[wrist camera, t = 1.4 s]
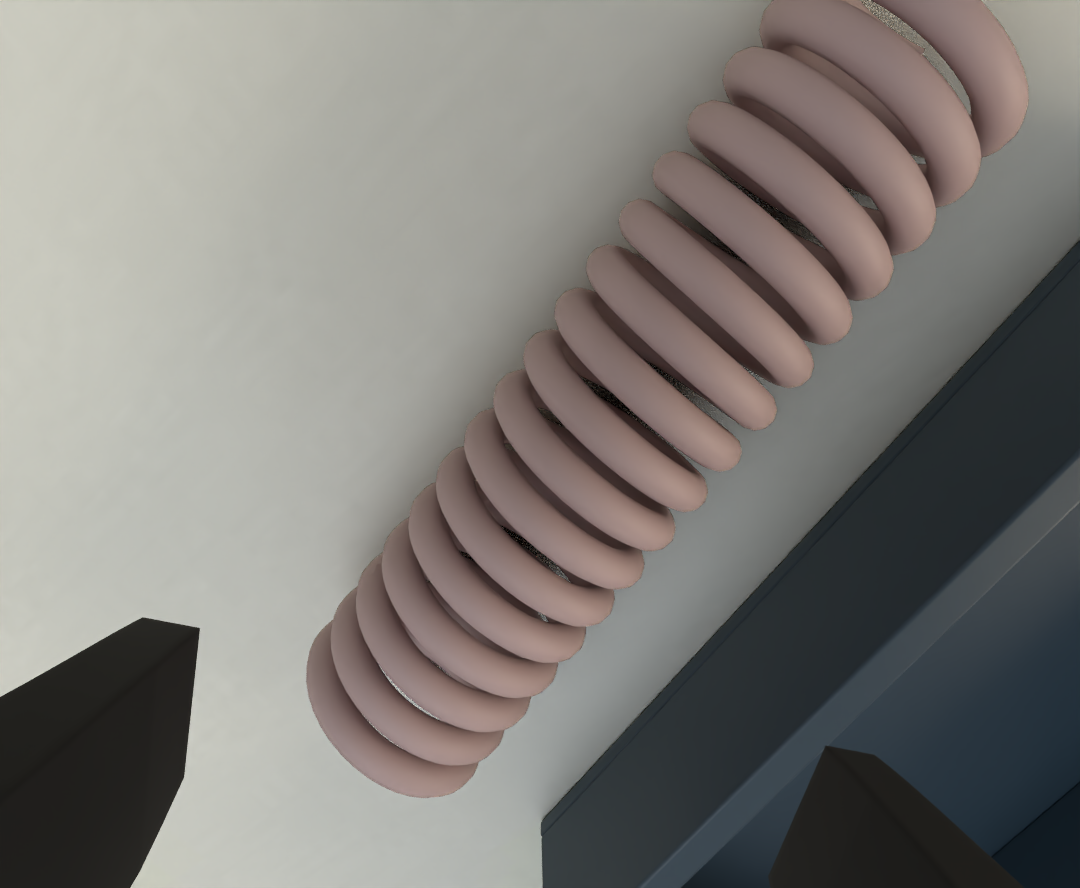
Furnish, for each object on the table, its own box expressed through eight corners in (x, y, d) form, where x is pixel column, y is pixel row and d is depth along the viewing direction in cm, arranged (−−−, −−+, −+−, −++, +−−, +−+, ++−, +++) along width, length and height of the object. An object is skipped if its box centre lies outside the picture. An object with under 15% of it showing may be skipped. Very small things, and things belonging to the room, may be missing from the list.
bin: (1473, 453, 18) (1763, 536, 14) (838, 989, 24) (907, 1166, 19) (1166, 145, 16) (1403, 132, 12) (539, 821, 21) (543, 981, 17)
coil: (464, 851, 16) (1136, 84, 11) (259, 767, 14) (931, -148, 10) (462, 698, 20) (948, 96, 16) (304, 621, 19) (787, -65, 14)
